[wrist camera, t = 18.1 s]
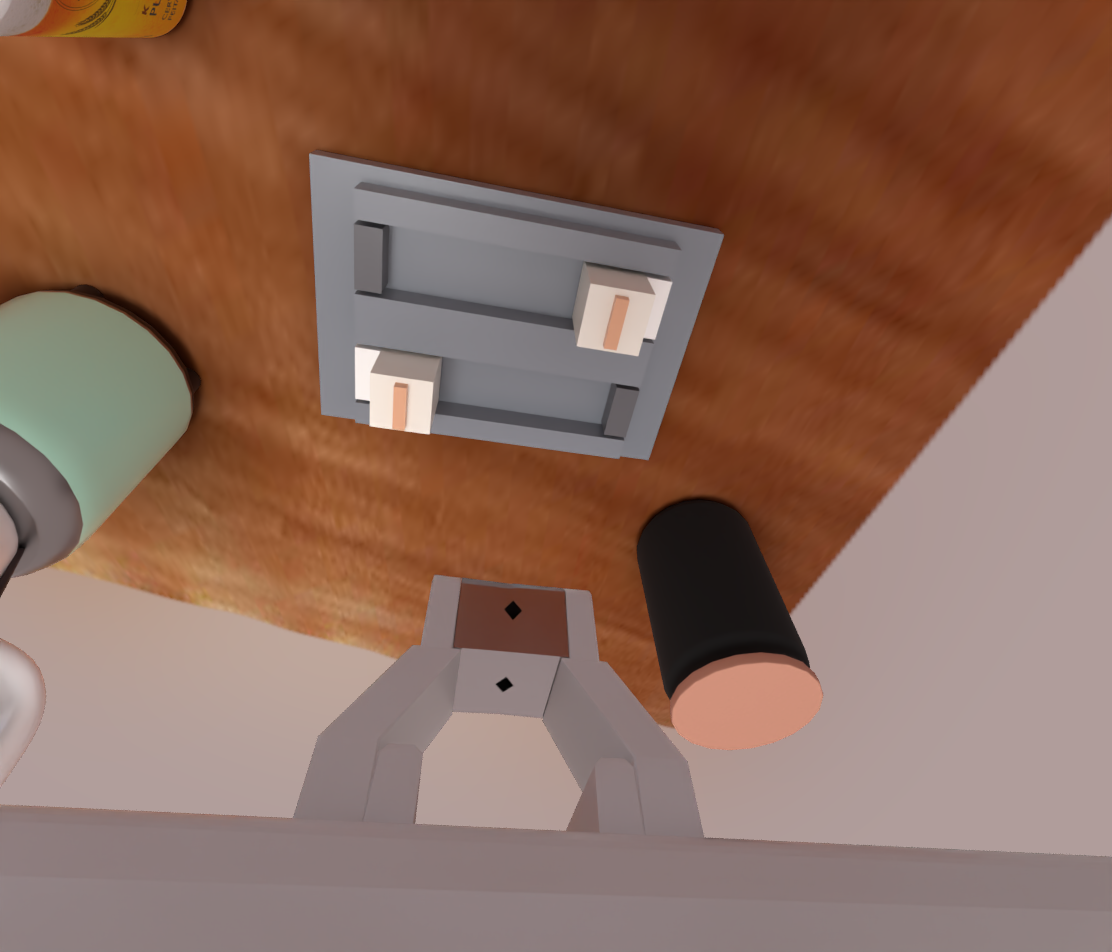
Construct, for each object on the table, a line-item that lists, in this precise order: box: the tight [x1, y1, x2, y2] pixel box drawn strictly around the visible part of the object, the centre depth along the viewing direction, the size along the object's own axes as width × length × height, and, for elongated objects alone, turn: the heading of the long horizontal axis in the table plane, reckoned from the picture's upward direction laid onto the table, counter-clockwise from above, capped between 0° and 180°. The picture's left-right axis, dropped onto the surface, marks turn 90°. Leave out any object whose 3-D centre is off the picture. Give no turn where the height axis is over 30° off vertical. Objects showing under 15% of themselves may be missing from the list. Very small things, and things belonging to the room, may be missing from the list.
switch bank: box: [309, 150, 724, 460], centre depth 42 cm, size 18×26×4 cm
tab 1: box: [370, 347, 442, 434], centre depth 41 cm, size 4×4×6 cm
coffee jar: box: [637, 500, 823, 750], centre depth 49 cm, size 11×11×18 cm
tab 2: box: [572, 261, 656, 356], centre depth 38 cm, size 4×4×6 cm
